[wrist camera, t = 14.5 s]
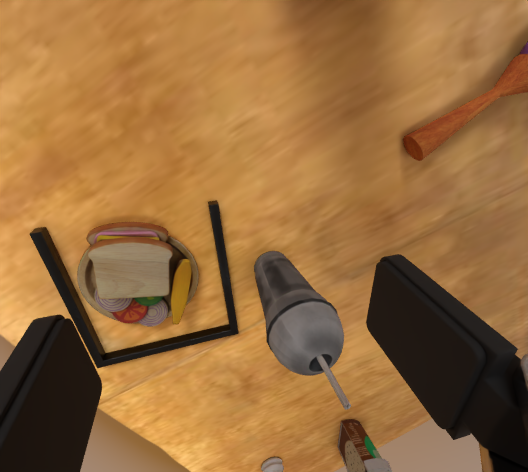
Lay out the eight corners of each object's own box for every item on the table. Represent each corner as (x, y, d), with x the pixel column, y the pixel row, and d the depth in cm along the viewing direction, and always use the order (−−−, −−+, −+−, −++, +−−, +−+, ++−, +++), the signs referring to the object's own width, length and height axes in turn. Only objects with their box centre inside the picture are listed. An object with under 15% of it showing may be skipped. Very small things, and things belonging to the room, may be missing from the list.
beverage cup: (249, 296, 39) (304, 462, 21) (237, 250, 35) (292, 404, 18) (300, 280, 40) (392, 427, 22) (294, 234, 36) (397, 366, 19)
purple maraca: (417, 124, 29) (611, -6, 27) (389, 125, 35) (546, 17, 32) (439, 173, 31) (621, 56, 29) (409, 167, 37) (559, 68, 34)
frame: (34, 228, 28) (29, 233, 27) (216, 200, 32) (218, 203, 31) (99, 360, 37) (97, 368, 36) (237, 327, 41) (238, 333, 40)
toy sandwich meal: (79, 314, 34) (65, 345, 30) (82, 206, 29) (65, 226, 25) (188, 318, 38) (189, 346, 34) (208, 225, 33) (212, 244, 29)
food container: (362, 442, 64) (390, 497, 56) (337, 450, 63) (361, 507, 55) (369, 408, 59) (401, 463, 50) (341, 416, 58) (370, 474, 49)
